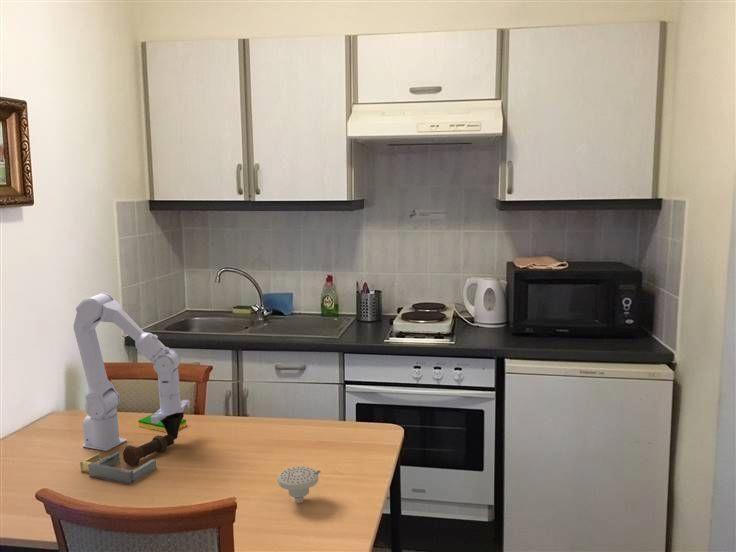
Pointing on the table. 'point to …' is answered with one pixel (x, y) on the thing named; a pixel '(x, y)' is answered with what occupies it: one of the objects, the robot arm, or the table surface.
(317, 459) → the table surface
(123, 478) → the grey u-shaped bracket
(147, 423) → the dish sponge
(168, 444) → the bolt
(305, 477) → the showerhead
